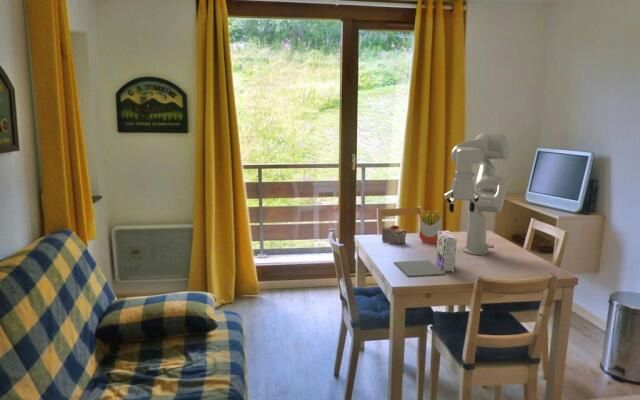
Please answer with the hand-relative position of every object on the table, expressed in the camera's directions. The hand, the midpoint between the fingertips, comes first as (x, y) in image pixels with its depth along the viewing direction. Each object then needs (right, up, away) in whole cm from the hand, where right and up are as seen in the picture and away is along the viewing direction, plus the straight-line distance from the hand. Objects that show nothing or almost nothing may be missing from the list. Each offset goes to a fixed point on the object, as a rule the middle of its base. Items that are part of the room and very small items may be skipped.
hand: (461, 211), depth 226 cm
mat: (-20, -27, 0) cm, 33 cm away
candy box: (-7, -27, +2) cm, 28 cm away
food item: (-25, -19, +45) cm, 55 cm away
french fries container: (-5, -19, +46) cm, 50 cm away
